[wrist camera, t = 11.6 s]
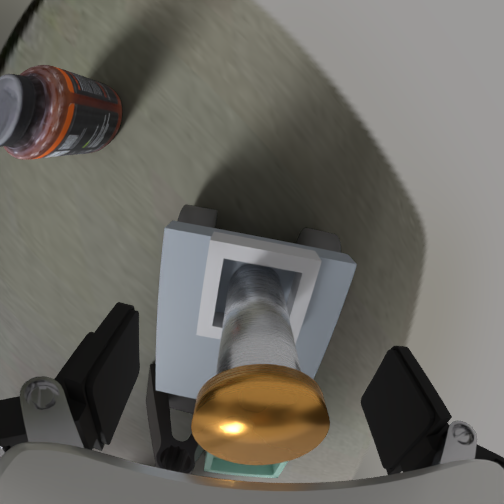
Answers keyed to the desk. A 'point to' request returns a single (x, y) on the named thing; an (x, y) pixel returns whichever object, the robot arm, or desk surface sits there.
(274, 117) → the desk surface
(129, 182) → the desk surface
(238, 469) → the tray
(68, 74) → the supplement bottle
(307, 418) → the pin
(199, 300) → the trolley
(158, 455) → the phone stand
